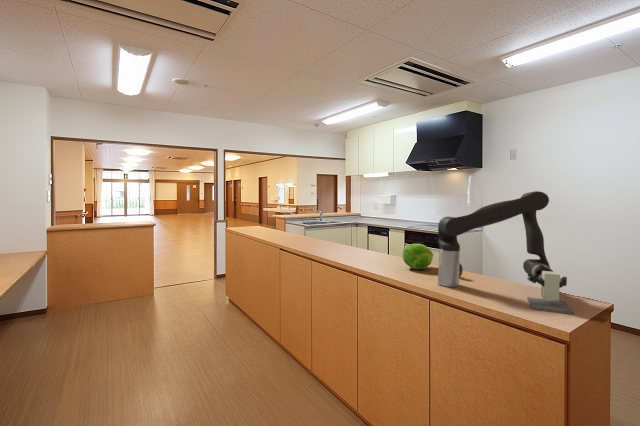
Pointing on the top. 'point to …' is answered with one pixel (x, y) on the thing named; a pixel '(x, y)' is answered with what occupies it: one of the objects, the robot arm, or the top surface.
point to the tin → (460, 269)
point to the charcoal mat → (549, 305)
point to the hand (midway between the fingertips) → (552, 284)
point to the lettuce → (417, 256)
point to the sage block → (550, 285)
